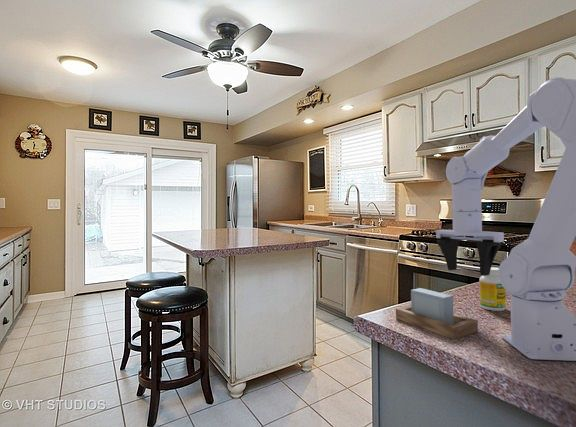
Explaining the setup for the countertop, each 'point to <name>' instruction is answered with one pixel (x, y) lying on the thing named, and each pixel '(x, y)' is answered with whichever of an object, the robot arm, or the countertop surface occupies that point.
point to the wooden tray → (439, 323)
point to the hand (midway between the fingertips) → (467, 272)
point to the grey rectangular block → (432, 304)
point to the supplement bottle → (492, 291)
